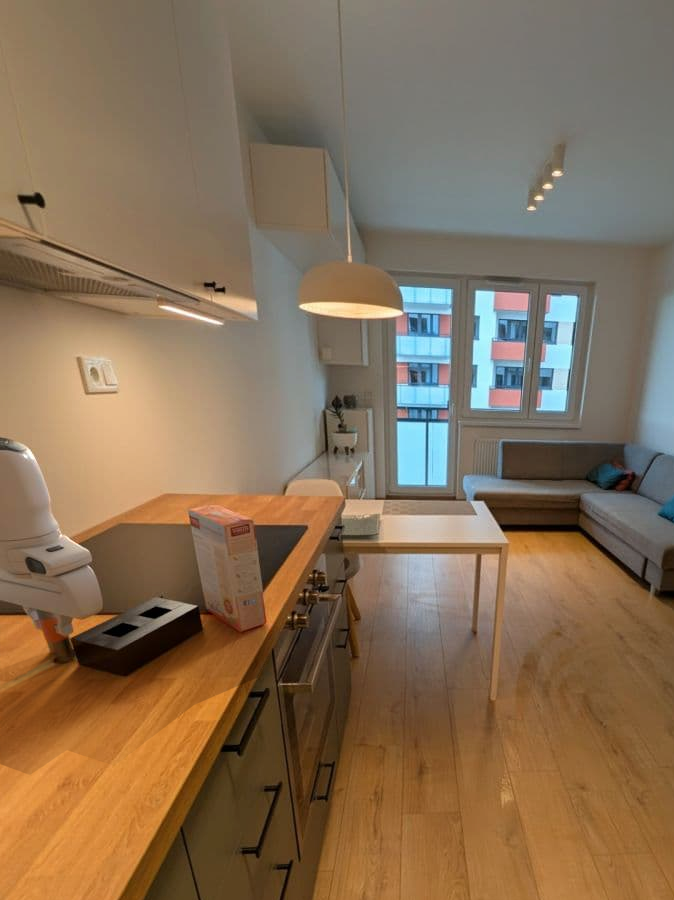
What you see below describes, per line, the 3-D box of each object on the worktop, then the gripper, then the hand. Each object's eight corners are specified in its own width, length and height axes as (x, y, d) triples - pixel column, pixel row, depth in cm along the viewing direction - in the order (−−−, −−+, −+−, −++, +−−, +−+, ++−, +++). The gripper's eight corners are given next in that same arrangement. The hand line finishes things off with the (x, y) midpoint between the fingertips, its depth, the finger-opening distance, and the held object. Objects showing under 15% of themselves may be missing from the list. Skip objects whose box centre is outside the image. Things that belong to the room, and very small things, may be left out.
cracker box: (269, 623, 98) (255, 518, 89) (239, 634, 94) (221, 525, 85) (233, 601, 106) (217, 502, 97) (205, 610, 102) (185, 508, 93)
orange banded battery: (48, 661, 83) (21, 583, 77) (66, 652, 86) (41, 576, 80) (62, 664, 82) (35, 587, 76) (80, 655, 85) (56, 579, 79)
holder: (78, 664, 83) (69, 638, 81) (161, 620, 97) (155, 596, 95) (125, 677, 80) (117, 650, 78) (203, 629, 95) (198, 605, 93)
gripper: (-44, 546, 76) (-12, 627, 82) (57, 567, 70) (84, 653, 76) (2, 534, 81) (29, 611, 87) (99, 553, 76) (120, 634, 82)
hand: (55, 631), depth 82 cm, fingers closed on orange banded battery, 3 cm apart
